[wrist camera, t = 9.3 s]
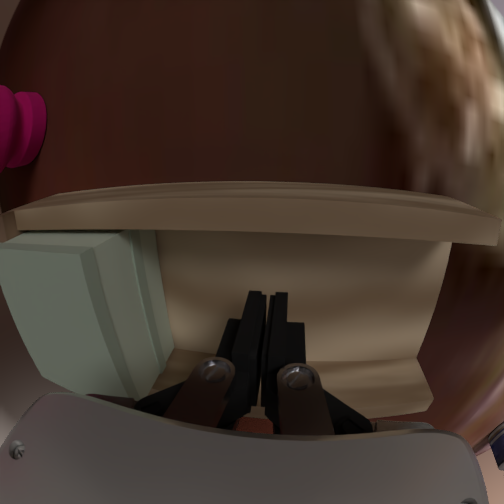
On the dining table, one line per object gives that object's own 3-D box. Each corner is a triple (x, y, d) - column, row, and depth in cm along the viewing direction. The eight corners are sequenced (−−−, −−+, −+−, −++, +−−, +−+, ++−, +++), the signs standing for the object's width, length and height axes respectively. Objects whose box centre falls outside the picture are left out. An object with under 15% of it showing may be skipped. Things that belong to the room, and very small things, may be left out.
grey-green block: (57, 216, 15) (-11, 247, 9) (154, 212, 14) (79, 254, 8) (86, 328, 18) (42, 376, 13) (176, 348, 17) (138, 416, 11)
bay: (57, 193, 16) (-6, 216, 10) (448, 196, 13) (515, 226, 7) (90, 330, 20) (50, 373, 14) (406, 358, 17) (430, 422, 11)
